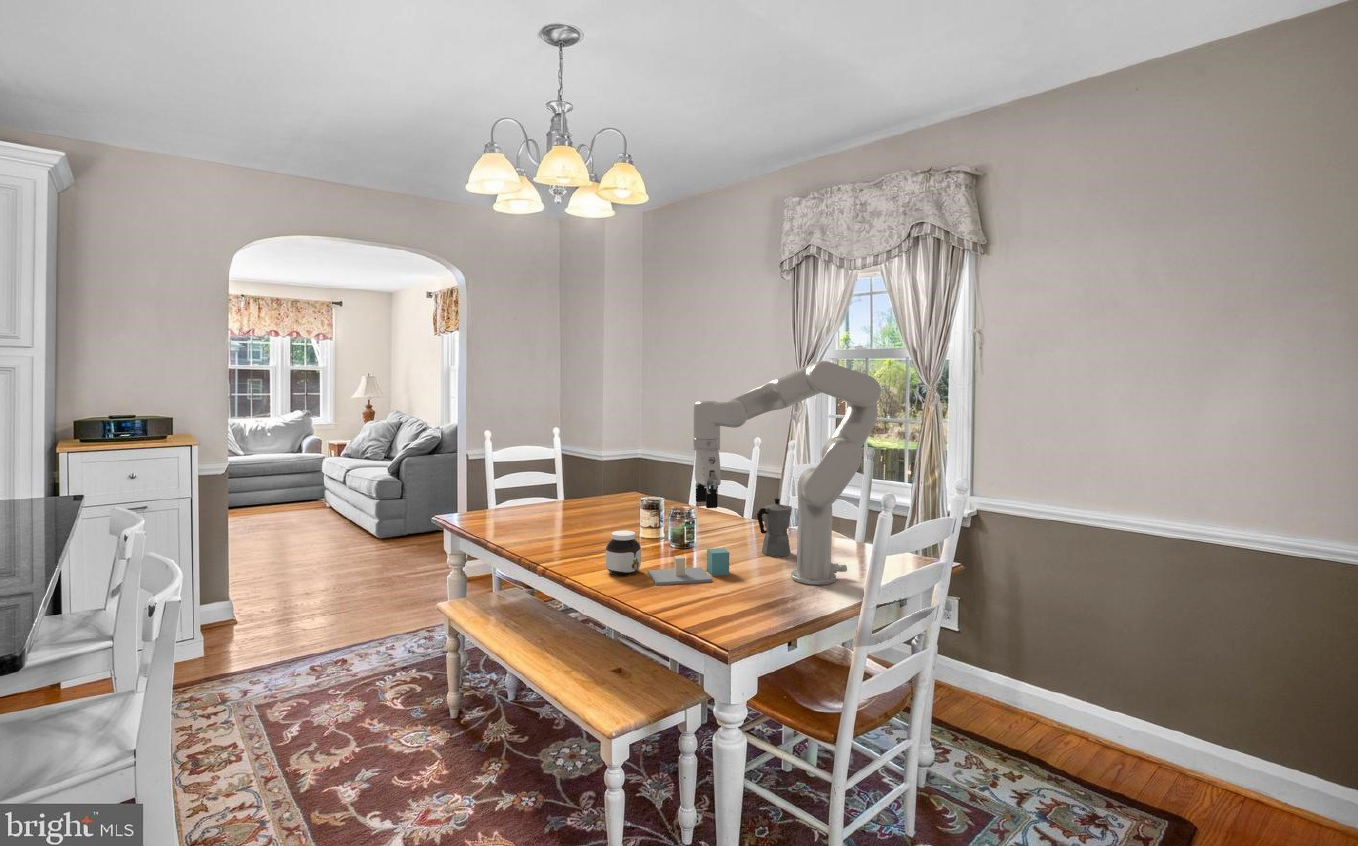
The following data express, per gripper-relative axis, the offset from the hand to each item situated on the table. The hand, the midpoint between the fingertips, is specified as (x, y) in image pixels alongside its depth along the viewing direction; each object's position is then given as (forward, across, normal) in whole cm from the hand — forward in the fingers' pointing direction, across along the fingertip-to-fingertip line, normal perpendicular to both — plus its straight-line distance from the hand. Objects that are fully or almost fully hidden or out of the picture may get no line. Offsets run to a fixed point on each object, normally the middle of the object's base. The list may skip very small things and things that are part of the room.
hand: (706, 504), depth 199 cm
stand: (+21, +1, +8) cm, 22 cm away
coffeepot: (+21, +19, -29) cm, 40 cm away
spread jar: (+21, +11, +22) cm, 32 cm away
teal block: (+21, +2, -4) cm, 21 cm away
